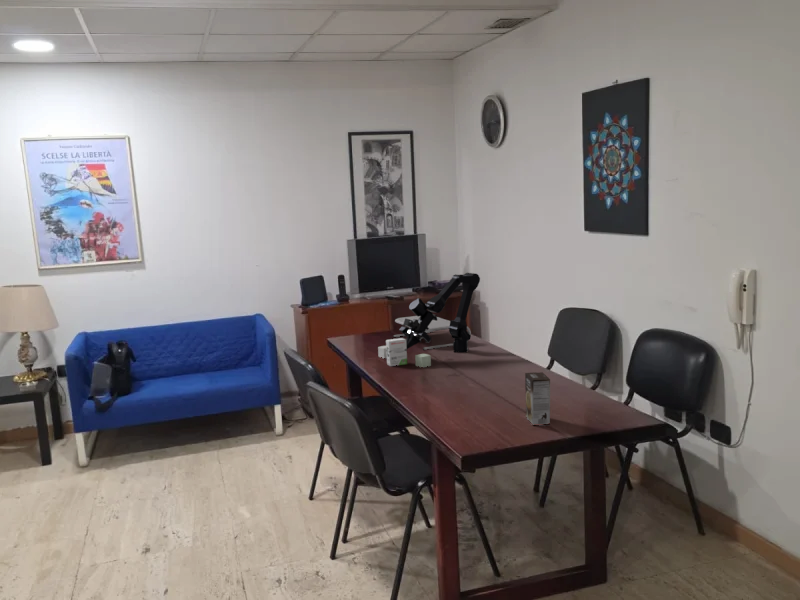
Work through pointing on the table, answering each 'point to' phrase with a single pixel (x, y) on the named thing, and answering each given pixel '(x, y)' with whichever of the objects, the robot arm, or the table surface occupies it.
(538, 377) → the coffee box
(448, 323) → the monitor stand
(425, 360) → the sage block
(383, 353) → the grey block
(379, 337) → the table surface
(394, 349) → the ink box
